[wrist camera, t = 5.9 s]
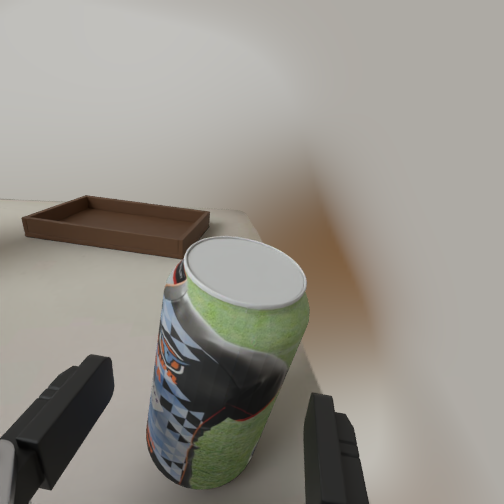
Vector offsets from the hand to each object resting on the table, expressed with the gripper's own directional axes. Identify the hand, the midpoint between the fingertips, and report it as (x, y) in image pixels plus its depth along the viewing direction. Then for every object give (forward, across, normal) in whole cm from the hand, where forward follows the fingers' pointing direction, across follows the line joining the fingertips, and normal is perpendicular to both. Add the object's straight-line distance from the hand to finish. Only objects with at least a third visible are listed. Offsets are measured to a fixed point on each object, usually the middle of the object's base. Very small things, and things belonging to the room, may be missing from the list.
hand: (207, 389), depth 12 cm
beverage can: (+3, 0, +7) cm, 8 cm away
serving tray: (+32, +20, +7) cm, 38 cm away
